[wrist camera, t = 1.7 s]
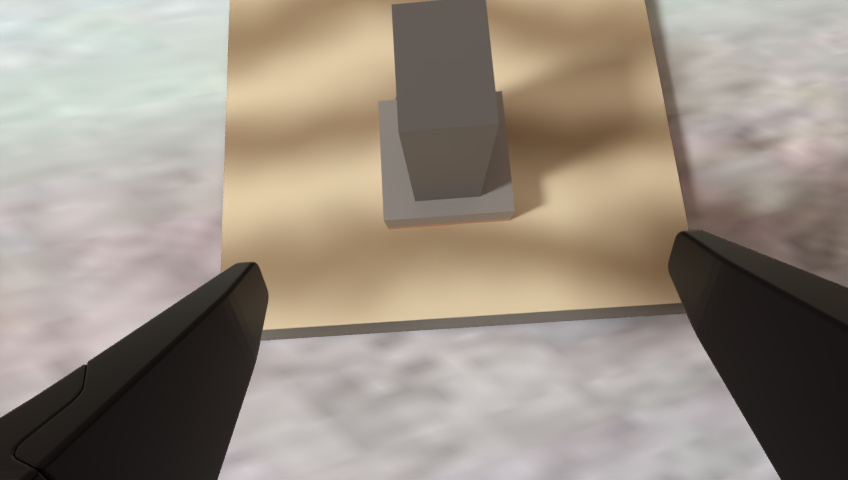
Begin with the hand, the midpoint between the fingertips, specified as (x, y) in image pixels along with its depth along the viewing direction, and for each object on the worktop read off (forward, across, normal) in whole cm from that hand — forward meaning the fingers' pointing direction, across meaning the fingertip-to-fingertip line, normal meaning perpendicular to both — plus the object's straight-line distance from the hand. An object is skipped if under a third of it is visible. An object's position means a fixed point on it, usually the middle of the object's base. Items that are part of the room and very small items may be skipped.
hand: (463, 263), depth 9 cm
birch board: (+15, 0, +3) cm, 16 cm away
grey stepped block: (+13, 0, +4) cm, 13 cm away
